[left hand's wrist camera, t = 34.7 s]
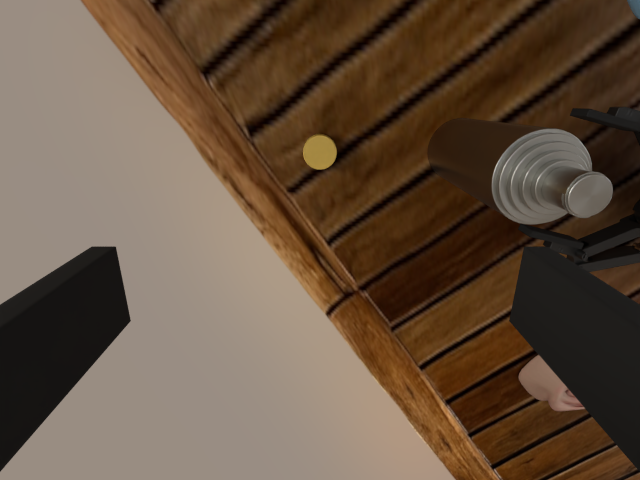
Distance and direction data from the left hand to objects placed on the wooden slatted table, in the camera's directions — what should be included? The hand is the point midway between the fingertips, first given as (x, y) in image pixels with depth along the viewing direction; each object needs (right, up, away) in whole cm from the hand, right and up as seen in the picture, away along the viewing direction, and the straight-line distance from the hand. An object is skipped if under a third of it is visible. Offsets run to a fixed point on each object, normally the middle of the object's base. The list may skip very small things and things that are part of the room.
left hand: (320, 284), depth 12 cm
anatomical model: (+38, -19, +47) cm, 63 cm away
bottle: (+17, +13, +35) cm, 41 cm away
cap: (0, +12, +33) cm, 35 cm away
